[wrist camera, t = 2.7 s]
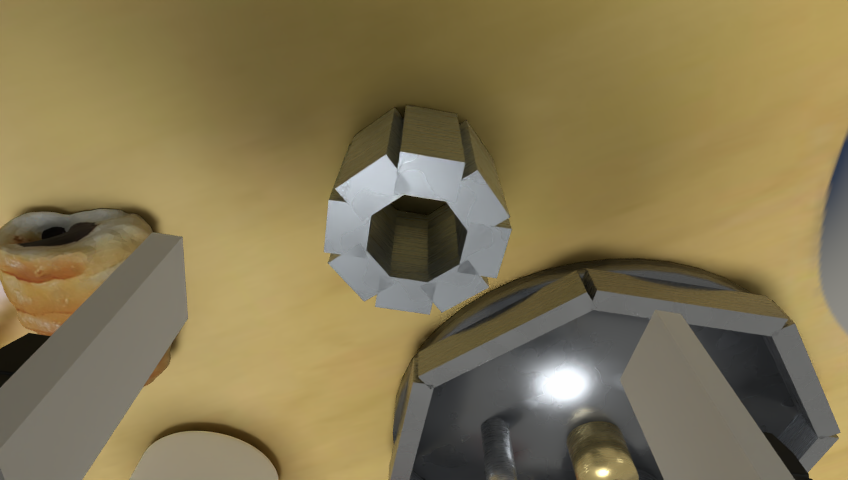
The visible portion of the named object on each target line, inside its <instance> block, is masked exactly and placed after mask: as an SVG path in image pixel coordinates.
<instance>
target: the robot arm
mask: <svg viewBox="0 0 848 480" xmlns="http://www.w3.org/2000/svg"><path fill="white" fill-rule="evenodd" d="M187 319H188V311H187V297H186V282H185V267H184V252H183V237H180V236H173V235H167V234H160V233H154V232H152V233H151V234H150V235H149V237H148V238H147V239H146V240H145V241H144V242H143V243H142V244H141V245H140V246H139V247H138V248H137V249H136V250H135V251H134V252H133V253H132V254H131V255H130V256H129V257H128V258H127V259H126V260H125V261H124V262H123V263H122V264H121V265H120V266H119V267H118V268H117V269H116V270H115V271H114V272H113V273H112V274H111V275H110V276H109V277H108V278H107V279H106V280H105V281H104V282H103V283H102V284H101V285H100V287H99V288H98V289H97V290H96V291H95V292H94V293H93V294H92V295H91V296H90V297H89V298H88V299H87V300H86V301H85V302H84V303H83V304H82V305H81V306H80V307H79V308H78V309H77V310H76V311H75V312H74V313H73V314H72V315H71V316H70V317H69V318H68V319H67V320H66V321H65V322H64V323H63V324H62V325H61V326H60V327H59V328H58V329H57V330H56V331H55V332H54V333H53V334H52V335H51V336H47V335H40V334H32V333H28V334H26V335H25V336H23V337H21V338H19V339H17V340H15V341H13V342H12V343H10V344H8V345H6V346H4V347H2V348H1V349H0V480H82V479H83V478H84V476H85V475H86V473H87V472H88V470H89V469H90V467H91V465H92V464H93V462H94V461H95V459H96V458H97V456H98V455H99V453H100V452H101V450H102V449H103V447H104V446H105V444H106V443H107V441H108V440H109V438H110V437H111V435H112V433H113V432H114V430H115V429H116V427H117V426H118V424H119V423H120V421H121V420H122V418H123V417H124V415H125V414H126V412H127V411H128V409H129V408H130V406H131V404H132V403H133V401H134V400H135V398H136V397H137V395H138V394H139V392H140V391H141V389H142V388H143V386H144V385H145V383H146V382H147V380H148V379H149V377H150V375H151V374H152V372H153V371H154V369H155V368H156V366H157V365H158V363H159V362H160V360H161V359H162V357H163V356H164V354H165V353H166V351H167V350H168V348H169V347H170V345H171V343H172V342H173V340H174V339H175V337H176V336H177V334H178V333H179V331H180V330H181V328H182V327H183V325H184V324H185V322H186V321H187ZM620 381H621V384H622V386H623V388H624V390H625V393H626V395H627V397H628V399H629V402H630V404H631V406H632V409H633V411H634V413H635V415H636V418H637V420H638V422H639V424H640V427H641V429H642V431H643V433H644V436H645V438H646V440H647V443H648V445H649V447H650V449H651V452H652V454H653V456H654V458H655V461H656V463H657V465H658V467H659V470H660V472H661V474H662V476H663V479H664V480H812V479H809V474H808V473H807V471H806V470H805V468H804V467H803V466H802V464H801V463H800V462H799V460H798V459H797V457H796V456H795V455H794V453H793V452H792V451H791V450H790V449H788V448H787V447H786V446H785V445H784V444H783V443H782V442H781V441H780V440H779V439H778V438H776V437H775V436H774V435H773V434H772V433H767V432H762V431H761V430H760V428H759V427H758V425H757V424H756V422H755V421H754V420H753V418H752V417H751V415H750V414H749V412H748V411H747V409H746V408H745V406H744V405H743V404H742V402H741V401H740V399H739V398H738V396H737V395H736V393H735V392H734V390H733V389H732V388H731V386H730V385H729V383H728V382H727V380H726V379H725V377H724V376H723V374H722V373H721V372H720V370H719V369H718V367H717V366H716V364H715V363H714V361H713V360H712V359H711V357H710V356H709V354H708V353H707V351H706V350H705V348H704V347H703V345H702V344H701V343H700V341H699V340H698V338H697V337H696V335H695V334H694V332H693V331H692V329H691V328H690V327H689V325H688V324H687V322H686V321H685V319H684V318H683V316H682V315H681V314H679V313H673V312H666V311H660V310H655V311H654V313H653V315H652V317H651V319H650V321H649V323H648V325H647V327H646V329H645V331H644V333H643V335H642V337H641V339H640V341H639V343H638V345H637V347H636V349H635V351H634V353H633V355H632V356H631V358H630V360H629V362H628V364H627V366H626V368H625V370H624V372H623V374H622V376H621V378H620Z"/></svg>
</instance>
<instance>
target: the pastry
mask: <svg viewBox="0 0 848 480" xmlns="http://www.w3.org/2000/svg"><path fill="white" fill-rule="evenodd" d="M151 233H152V229H151V227H150V226H149V225H148V223H147V222H146V221H145V220H144V219H143V218H142V217H140V216H139V215H137V214H134V213H132V214H127V213H125V212H123V211H122V210H116V209H96V210H93V211H83V212H79V213H74V214H71V215H65V214H60V213H55V212H30V213H25V214H23V215H20V216H18V217H16V218H14V219H12V220H11V221H9V222H8V223H6V224H5V225H4V226H3V227H2V228H1V229H0V280H1V282H2V285H3V289H4V291H5V293H6V295H7V297H8V299H9V300H10V302H11V303H12V304H13V305H14V306H15V308H16V311H17V315H18V319H19V321H20V323H21V324H22V326H24V327H25V328H26V329H30V330H33V331H35V332H37V333H38V334H40V335H47V336H51V335H52V334H53V333H54V332H55V331H56V330H57V329H58V328H59V327H60V326H61V325H62V324H63V323H64V322H65V321H66V320H67V319H68V318H69V317H70V316H71V315H72V314H73V313H74V312H75V311H76V310H77V309H78V308H79V307H80V306H81V305H82V304H83V303H84V302H85V301H86V300H87V299H88V298H89V297H90V296H91V295H92V294H93V293H94V292H95V291H96V290H97V289H98V288H99V287H100V285H101V284H102V283H103V282H104V281H105V280H106V279H107V278H108V277H109V276H110V275H111V274H112V273H113V272H114V271H115V270H116V269H117V268H118V267H119V266H120V265H121V264H122V263H123V262H124V261H125V260H126V259H127V258H128V257H129V256H130V255H131V254H132V253H133V252H134V251H135V250H136V249H137V248H138V247H139V246H140V245H141V244H142V243H143V242H144V241H145V240H146V239H147V238H148V237H149V235H150V234H151ZM170 350H171V345H170V347H169V348H168V350H167V351H166V353H165V354H164V356H163V357H162V359H161V360H160V362H159V363H158V365H157V366H156V368H155V369H154V371H153V372H152V374H151V375H150V377H149V379H148V380H147V382H146V383H145V385H144V386H146V385H148V384H150V383H151V382H152V381H153V380H154V379H155V378H156V377H157V376H159V375H160V374H161V373H162V372H163V371H164V370H165V369H166V368H167V366H168V365H169V363H170V358H171V357H170ZM144 386H143V387H144Z"/></svg>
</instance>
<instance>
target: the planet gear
mask: <svg viewBox="0 0 848 480" xmlns="http://www.w3.org/2000/svg"><path fill="white" fill-rule="evenodd" d="M403 195H409V196H415V197H421V198H427V199H434V200H440V201H446V203H447V204H445V205H443V206H442V207H440V208H439V209H437V210H435V211H434V212H432V213H430V214H429V215H423V214H417V213H410V212H404V211H398V210H396V208H395V207H394V206H393V205H392V204H391V203H392V202H393V201H395V200H397V199H398V198H400V197H401V196H403ZM509 217H510V215H509V212H508V208H507V205H506V202H505V198H504V195H503V191H502V188H501V185H500V181H499V178H498V175H497V171H496V168H495V165H494V161H493V159H492V157H491V156H490V154H489V153H488V151H487V150H486V148H485V147H484V145H483V144H482V142H481V141H480V139H479V138H478V136H477V135H476V133H475V132H474V130H473V129H472V127H471V126H470V124H469V123H468V121H467V120H465V121H464V122H462V123H461V124H459V123H458V117H457V114H456V113H450V112H444V111H439V110H433V109H427V108H422V107H416V106H411V105H406V109H405V116H404V119H403V117H402V116H401V115H400V113H399V112H398V111H397V109H396V108H395V107H394V108H393V109H391V110H390V111H389V112H387V113H386V114H384V115H383V116H382V117H380V118H379V119H377V120H376V121H374V122H373V123H372V124H370V125H369V126H367V127H366V128H365V129H363V130H362V131H360V132H359V133H357V134H356V135H355V136H354V139H353V141H352V144H351V145H349V147H348V150H347V152H346V155H345V158H344V160H343V163H342V166H341V168H340V171H339V174H338V176H337V179H336V182H335V184H334V187H333V190H332V192H331V195H330V198H329V202H328V213H327V224H326V235H325V246H324V252H326V253H331V255H330V258H329V261H328V264H329V265H330V266H331V267H332V268H333V269H334V270H335V271H336V272H337V273H338V274H339V275H340V276H341V277H342V278H343V280H344V281H345V282H346V283H347V284H348V285H349V286H350V287H351V288H352V289H353V290H354V291H355V292H356V293H357V294H358V295H359V296H360V297H361V299H362V300H363V301H366V300H368V299H369V298H371V297H373V296H375V295H376V294H377V298H376V305H375V307H380V308H387V309H394V310H401V311H408V312H415V313H422V314H429V315H430V311H431V307H432V303H434V304H435V305H436V306H437V308H438V309H439V310H440V311H441V312H444V311H446V310H448V309H449V308H451V307H453V306H455V305H457V304H459V303H461V302H462V301H464V300H466V299H468V298H470V297H472V296H474V295H475V294H477V293H479V292H481V291H483V290H485V289H487V288H488V287H489V284H488V278H487V277H492V278H497V276H498V272H499V269H500V266H501V263H502V259H503V256H504V253H505V250H506V246H507V243H508V240H509V236H510V233H511V230H512V228H511V225H510V221H509Z"/></svg>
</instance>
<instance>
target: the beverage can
mask: <svg viewBox="0 0 848 480" xmlns="http://www.w3.org/2000/svg"><path fill="white" fill-rule="evenodd" d="M129 480H279V479H278V474H277V472H276V469H275V467H274V466H273V464H272V463H271V461H270V460H269V459H268V458H267V457H266V456H265V455H264V454H263V453H262V452H261V451H259V450H258V449H256V448H255V447H253V446H252V445H250V444H248V443H246V442H244V441H242V440H240V439H237V438H234V437H232V436H228V435H225V434H220V433H215V432H208V431H185V432H179V433H174V434H171V435H168V436H165V437H163V438H161V439H159V440H157V441H155V442H154V443H153V444H152V445H150V446H149V447H148V448H147V450H146V451H145V452H144V454H143V456H142V458H141V459H140V461H139V463H138V465H137V467H136V468H135V470H134V472H133V474H132V476H131V478H130V479H129Z"/></svg>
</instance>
